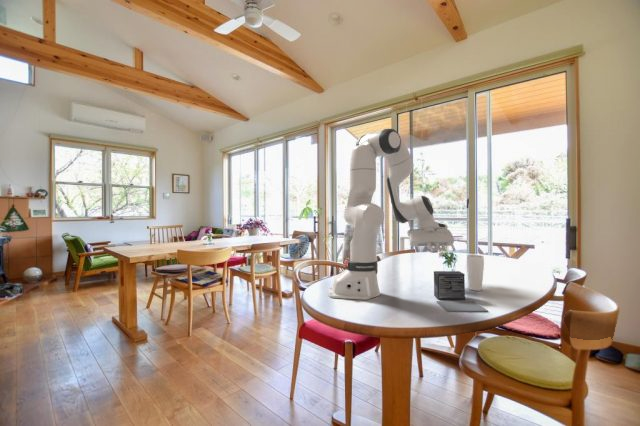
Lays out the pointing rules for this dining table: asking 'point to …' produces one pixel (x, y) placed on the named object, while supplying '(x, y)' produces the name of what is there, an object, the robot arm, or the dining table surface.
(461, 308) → the mat
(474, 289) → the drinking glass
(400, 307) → the dining table surface
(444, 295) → the small box
